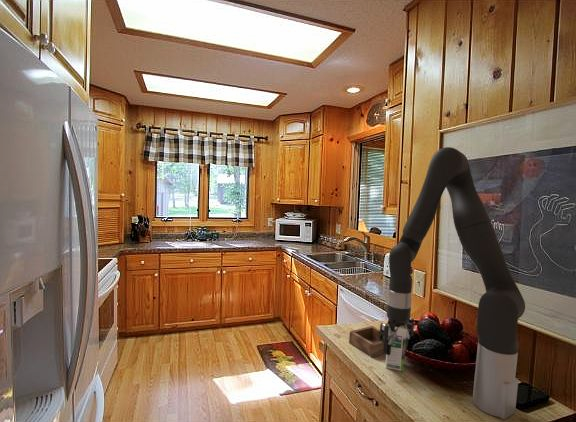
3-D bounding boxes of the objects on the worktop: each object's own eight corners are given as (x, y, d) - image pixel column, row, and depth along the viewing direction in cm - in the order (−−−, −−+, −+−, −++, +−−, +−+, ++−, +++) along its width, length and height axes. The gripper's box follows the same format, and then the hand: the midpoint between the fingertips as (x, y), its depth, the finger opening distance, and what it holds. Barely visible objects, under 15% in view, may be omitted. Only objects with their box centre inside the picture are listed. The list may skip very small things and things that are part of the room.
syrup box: (385, 368, 108) (388, 325, 106) (385, 359, 113) (388, 319, 112) (403, 372, 106) (407, 328, 105) (403, 363, 112) (406, 321, 110)
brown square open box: (395, 350, 120) (396, 338, 120) (372, 357, 114) (373, 345, 114) (371, 336, 130) (372, 325, 130) (349, 343, 124) (349, 331, 124)
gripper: (393, 311, 101) (389, 361, 102) (422, 304, 109) (418, 351, 110) (375, 303, 107) (371, 350, 109) (404, 297, 115) (400, 341, 116)
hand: (395, 351), depth 109 cm, fingers closed on syrup box, 8 cm apart
